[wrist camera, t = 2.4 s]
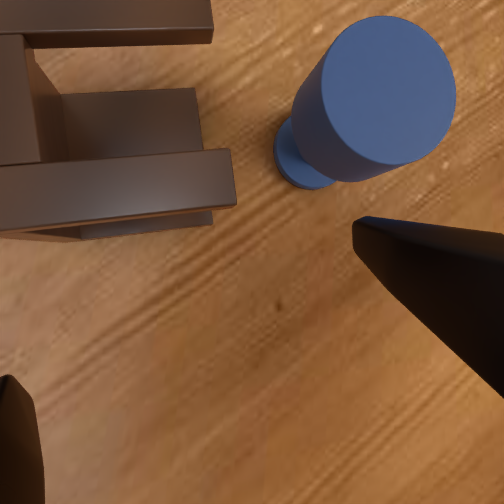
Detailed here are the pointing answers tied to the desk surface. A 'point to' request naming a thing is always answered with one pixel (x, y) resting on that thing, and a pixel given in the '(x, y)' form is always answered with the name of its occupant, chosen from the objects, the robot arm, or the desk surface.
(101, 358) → the desk surface
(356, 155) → the peg
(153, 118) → the brown slotted stand
